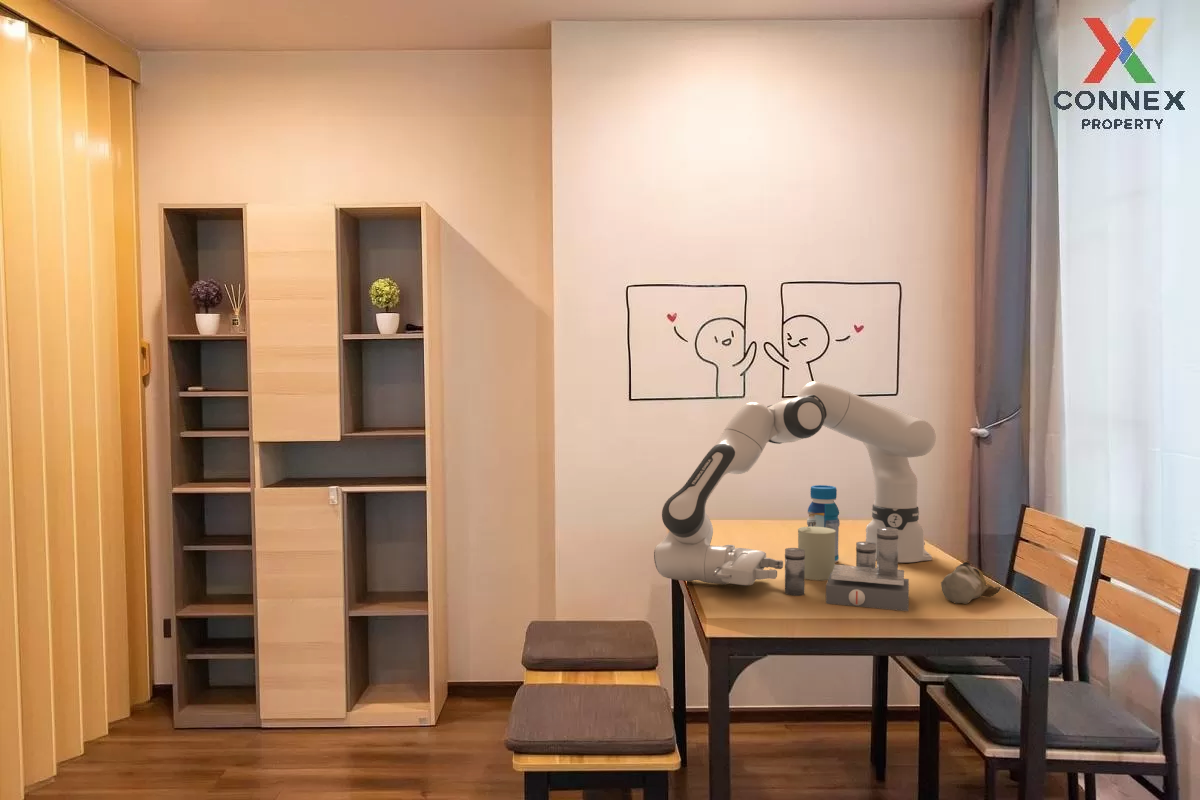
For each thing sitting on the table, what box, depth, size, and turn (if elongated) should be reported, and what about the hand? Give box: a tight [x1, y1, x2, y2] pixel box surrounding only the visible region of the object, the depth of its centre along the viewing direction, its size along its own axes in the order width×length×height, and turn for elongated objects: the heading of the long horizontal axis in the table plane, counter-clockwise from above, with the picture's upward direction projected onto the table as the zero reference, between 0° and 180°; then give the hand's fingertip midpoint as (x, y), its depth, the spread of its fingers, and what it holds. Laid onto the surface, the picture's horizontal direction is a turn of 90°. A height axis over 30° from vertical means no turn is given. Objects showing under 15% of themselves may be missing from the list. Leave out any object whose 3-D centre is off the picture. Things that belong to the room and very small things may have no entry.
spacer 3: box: [876, 527, 899, 576], centre depth 181 cm, size 4×4×10 cm
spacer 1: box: [784, 547, 806, 597], centre depth 189 cm, size 4×4×10 cm
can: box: [797, 526, 836, 581], centre depth 204 cm, size 9×9×12 cm
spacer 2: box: [855, 541, 877, 568], centre depth 196 cm, size 4×4×10 cm
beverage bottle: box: [806, 484, 841, 564], centre depth 220 cm, size 8×8×20 cm
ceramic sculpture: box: [940, 561, 1002, 605], centre depth 184 cm, size 11×9×15 cm
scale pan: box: [831, 564, 905, 585], centre depth 183 cm, size 10×15×1 cm, turn 70°
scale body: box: [825, 573, 910, 612], centre depth 183 cm, size 12×17×4 cm
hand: (779, 569), depth 190 cm, fingers open, 8 cm apart
